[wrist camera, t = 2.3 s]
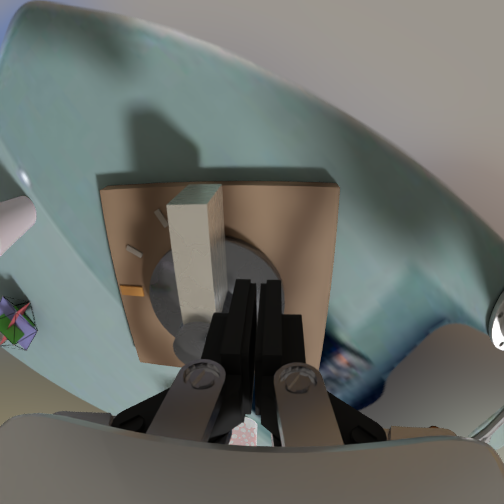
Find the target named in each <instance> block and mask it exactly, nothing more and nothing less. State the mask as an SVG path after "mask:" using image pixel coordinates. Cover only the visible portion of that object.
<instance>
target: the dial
mask: <svg viewBox="0 0 504 504" xmlns="http://www.w3.org/2000/svg"><path fill="white" fill-rule="evenodd" d="M166 206H167V215H168V224H169V232H170V240H171V248H170V249H169V250H168V251H167V252H166V253H165V255H164V256H163V257H162V259H161V260H160V261H159V263H158V264H157V266H156V267H155V269H154V271H153V274H152V277H151V280H150V286H149V294H150V301H151V304H152V308H153V310H154V312H155V315H156V316H157V318H158V320H159V321H160V323H161V324H162V325H163V327H164V328H165V329H166V330H167V331H168V332H169V333H170V334H171V335H172V336H174V337H175V339H174V342H173V350H174V353H175V355H176V356H177V357H178V359H179V360H180V361H181V362H183V363H184V364H185V365H186V364H187V363H189V362H191V361H194V360H199V359H201V356H202V352H203V349H204V345H205V341H206V338H207V334H208V330H209V327H210V323H211V320H212V316H213V313H214V312H218V313H229V309H230V304H231V299H232V295H233V290H234V285H235V281H236V279H251V283H256V286H257V322H258V310H259V299H260V287H261V283H267V280H281V294H282V314H284V308H285V294H284V286H283V282H282V279H281V276H280V274H279V272H278V270H277V269H276V267H275V266H274V264H273V263H272V262H271V260H270V259H269V258H268V257H267V256H266V255H265V254H264V253H262V252H261V251H260V250H259V249H258V248H256V247H254V246H253V245H251V244H250V243H247V242H245V241H243V240H241V239H238V238H235V237H232V236H227V235H225V234H224V215H223V194H222V184H189V185H188V186H186V187H185V188H184V189H183V190H182V191H181V192H180V193H179V194H178V195H177V196H175V197H174V198H173V199H172V200H171V201H170V202H169V203H168V204H167V205H166Z"/></svg>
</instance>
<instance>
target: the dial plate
mask: <svg viewBox="0 0 504 504" xmlns="http://www.w3.org/2000/svg"><path fill="white" fill-rule="evenodd" d="M189 184H222V194H223V215H224V234H225V235H227V236H232V237H235V238H238V239H241V240H243V241H245V242H247V243H250V244H251V245H253V246H254V247H256V248H258V249H259V250H260V251H261V252H262V253H264V254H265V255H266V256H267V257H268V258H269V259H270V260H271V262H272V263H273V264H274V266H275V267H276V269H277V270H278V272H279V274H280V276H281V279H282V282H283V286H284V294H285V308H284V314H301V315H302V323H303V334H304V345H305V357H306V364H309V365H311V366H313V367H315V368H316V369H317V370H319V364H320V358H321V352H322V346H323V339H324V333H325V326H326V319H327V312H328V304H329V297H330V289H331V280H332V271H333V262H334V253H335V243H336V232H337V220H338V207H339V193H340V187H339V186H338V184H337V183H323V182H290V181H203V182H170V183H147V184H129V185H114V186H107V187H105V188H103V189H101V190H100V195H101V202H102V208H103V214H104V219H105V225H106V230H107V236H108V241H109V246H110V250H111V255H112V260H113V264H114V269H115V273H116V277H117V282H118V286H119V290H120V294H121V298H122V302H123V305H124V309H125V313H126V316H127V320H128V323H129V327H130V330H131V334H132V337H133V340H134V344H135V347H136V350H137V353H138V357H139V360H140V362H144V363H151V364H158V365H166V366H174V367H183V366H184V365H185V364H184V363H183V362H181V361H180V360H179V359H178V357H177V356H176V355H175V353H174V350H173V342H174V339H175V337H174V336H172V335H171V334H170V333H169V332H168V331H167V330H166V329H165V328H164V327H163V325H162V324H161V323H160V321H159V320H158V318H157V316H156V315H155V312H154V310H153V308H152V304H151V301H150V294H149V286H150V280H151V277H152V274H153V271H154V269H155V267H156V266H157V264H158V263H159V261H160V260H161V259H162V257H163V256H164V255H165V253H166V252H167V251H168V250H169V249H170V248H171V240H170V232H169V224H168V215H167V206H166V205H167V204H168V203H169V202H170V201H171V200H172V199H173V198H174V197H175V196H177V195H178V194H179V193H180V192H181V191H182V190H183V189H184V188H185V187H186V186H188V185H189Z"/></svg>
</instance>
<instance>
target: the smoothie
mask: <svg viewBox="0 0 504 504" xmlns="http://www.w3.org/2000/svg"><path fill="white" fill-rule="evenodd" d="M35 222H36V209H35V206H34V204H33V202H32V201H31V200H30V199H29V198H28V197H26V196H19V197H16V198H13V199H10V200H7V201H4V202H0V256H1V255H2V254H3V253H4V252H5V251H6V250H7V249H8V248H9V247H10V246H11V245H12V244H13V243H14V242H16V241H17V240H18V239H19V238H20V237H21V236H22V235H23V234H24V233H25V232H26V231H27V230H28V229H29V228H31V227H32V226H33V225H34V224H35Z"/></svg>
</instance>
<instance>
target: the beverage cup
mask: <svg viewBox="0 0 504 504" xmlns="http://www.w3.org/2000/svg"><path fill="white" fill-rule="evenodd" d="M229 445H244V446H257V424H256V422H255V421H254V420H252V419H250V418H247V417H245V419H244V423H241V424H240V425H238V426H237V427H235V428H233V429H232V436H231V439H230V442H229Z"/></svg>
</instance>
